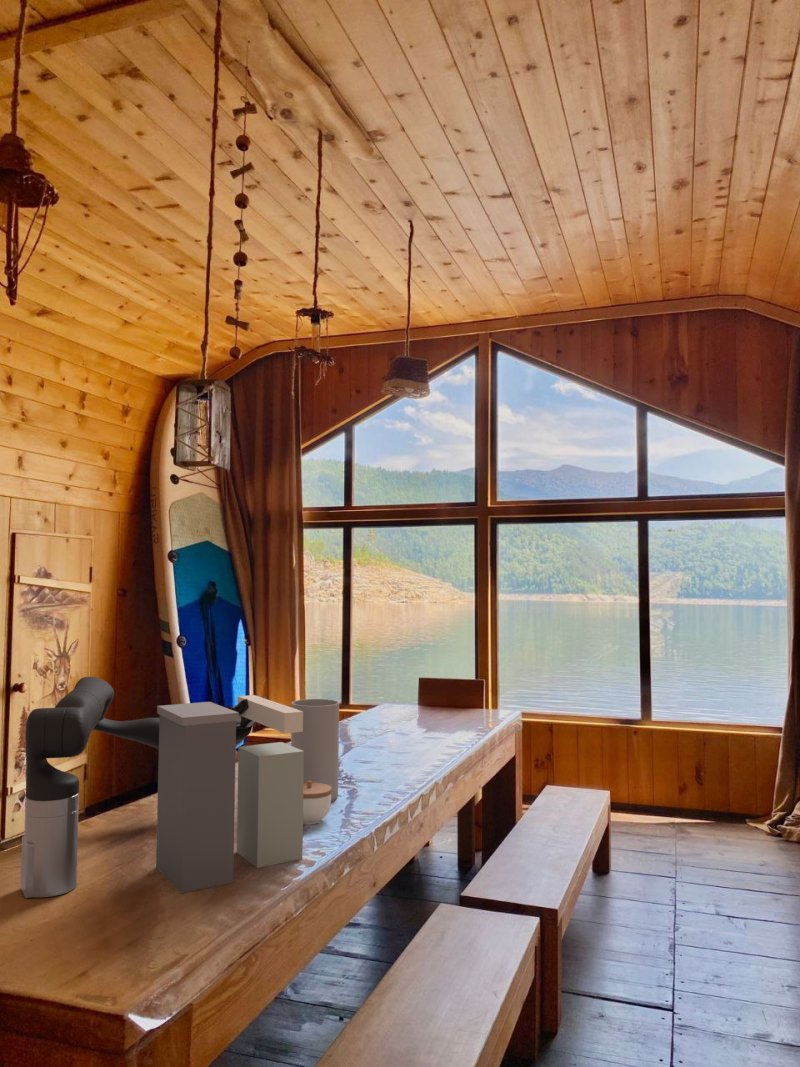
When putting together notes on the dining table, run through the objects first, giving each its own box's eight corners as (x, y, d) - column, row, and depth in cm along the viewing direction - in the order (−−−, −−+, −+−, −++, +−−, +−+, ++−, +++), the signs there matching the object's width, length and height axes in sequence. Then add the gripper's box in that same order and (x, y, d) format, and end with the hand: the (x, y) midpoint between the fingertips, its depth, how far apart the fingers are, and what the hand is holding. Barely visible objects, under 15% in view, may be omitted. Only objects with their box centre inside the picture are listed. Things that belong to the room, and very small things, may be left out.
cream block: (284, 733, 161) (284, 713, 161) (237, 714, 182) (237, 696, 182) (302, 731, 163) (303, 711, 164) (253, 712, 184) (254, 695, 185)
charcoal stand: (178, 893, 149) (182, 717, 151) (153, 867, 163) (157, 705, 164) (235, 882, 155) (238, 712, 157) (206, 857, 168) (209, 701, 170)
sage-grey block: (257, 867, 163) (259, 756, 164) (236, 852, 172) (238, 746, 173) (302, 858, 168) (303, 751, 169) (280, 843, 177) (281, 741, 179)
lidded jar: (337, 816, 198) (338, 777, 199) (321, 829, 188) (322, 788, 188) (297, 812, 201) (297, 774, 202) (279, 825, 191) (279, 784, 191)
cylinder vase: (285, 794, 218) (287, 700, 219) (330, 790, 222) (331, 698, 224) (296, 806, 206) (298, 707, 208) (343, 802, 211) (344, 704, 212)
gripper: (198, 717, 188) (222, 688, 176) (256, 712, 196) (282, 683, 184) (203, 748, 185) (228, 721, 173) (261, 742, 193) (289, 715, 181)
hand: (256, 702), depth 179 cm, fingers closed on cream block, 4 cm apart
